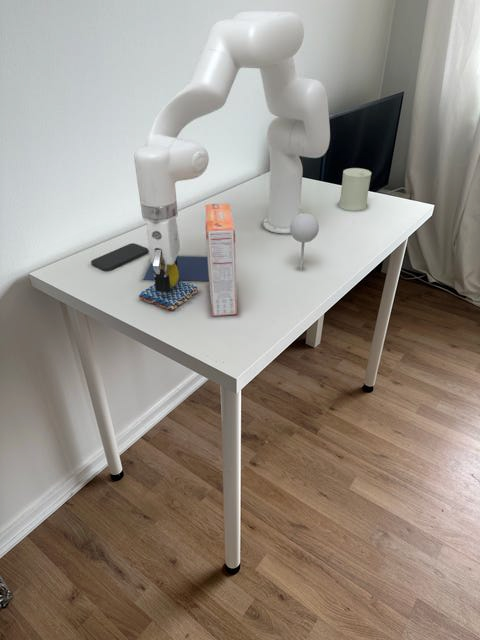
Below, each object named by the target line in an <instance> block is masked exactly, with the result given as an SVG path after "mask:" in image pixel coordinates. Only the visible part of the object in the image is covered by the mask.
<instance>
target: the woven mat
mask: <svg viewBox="0 0 480 640" xmlns="http://www.w3.org/2000/svg"><path fill="white" fill-rule="evenodd" d="M197 289H198V287H197V286H195V285H194V284H189V283H188V282H184V281H178V282H177V284H176V285H175V286H174V287H172V288H171V290H170V292H158V291H156V286H155V283H153V284H152V285H150V286H149V287H147V288H146V289H145V290H143V291H141V293H140V294H139V295H138V297H139V299H141V300H142V301H144V302H147V303H149V304H153V305H157V306H158V307H161V308H163V309H166V310H171V311H173V310H174V309H177V308H178V306H180V305H182V304H183V303H184V302H185V303H188V299H189V298H191V299H192V297H193V295H195V294H198V290H197Z"/></svg>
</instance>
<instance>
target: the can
mask: <svg viewBox="0 0 480 640" xmlns="http://www.w3.org/2000/svg"><path fill="white" fill-rule="evenodd" d="M371 177H372V171H370V170H369V169H365V168H360V167H351V168H346V169H343V171H342V180H341V181H342V182H341V189H340V197H339V203H338V206H339V208H340V209H343V210H345V211H351V212H358V211H364V210H366V209H367V202H368V195H369V189H370V185H371V184H370V183H371Z"/></svg>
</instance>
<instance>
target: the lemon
mask: <svg viewBox="0 0 480 640" xmlns="http://www.w3.org/2000/svg"><path fill="white" fill-rule="evenodd" d="M161 262H165V260H161ZM161 269H163V270H164V266H161ZM167 275H169V279H170V288H172V287H174V286H175V285H176V284H177V282H178V279H179V272H178V268H177V266H176V264H175V263H174V264H173V265H168V274H167Z"/></svg>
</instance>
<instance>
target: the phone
mask: <svg viewBox="0 0 480 640" xmlns="http://www.w3.org/2000/svg"><path fill="white" fill-rule="evenodd" d="M148 253H149V248H147V247H145V246H143V245H140V244H137V243H128V244H126V245H123V246H121V247H119V248H117V249H115V250H112V251H110V252H108V253H105V254H102V255H101V256H99V257H98V256H97V257H96V258H94V259H92V260H91V261H90V264H91V265H92V266H95V267H96V268H98V269H100V270H103V271H106V272H107V271H112V270H114V269H116V268H118V267H120V266H122V265H124V264H126V263H129V262H131V261H133V260H135V259H137V258H140V257H141V256H143V255H146V254H148Z"/></svg>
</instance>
